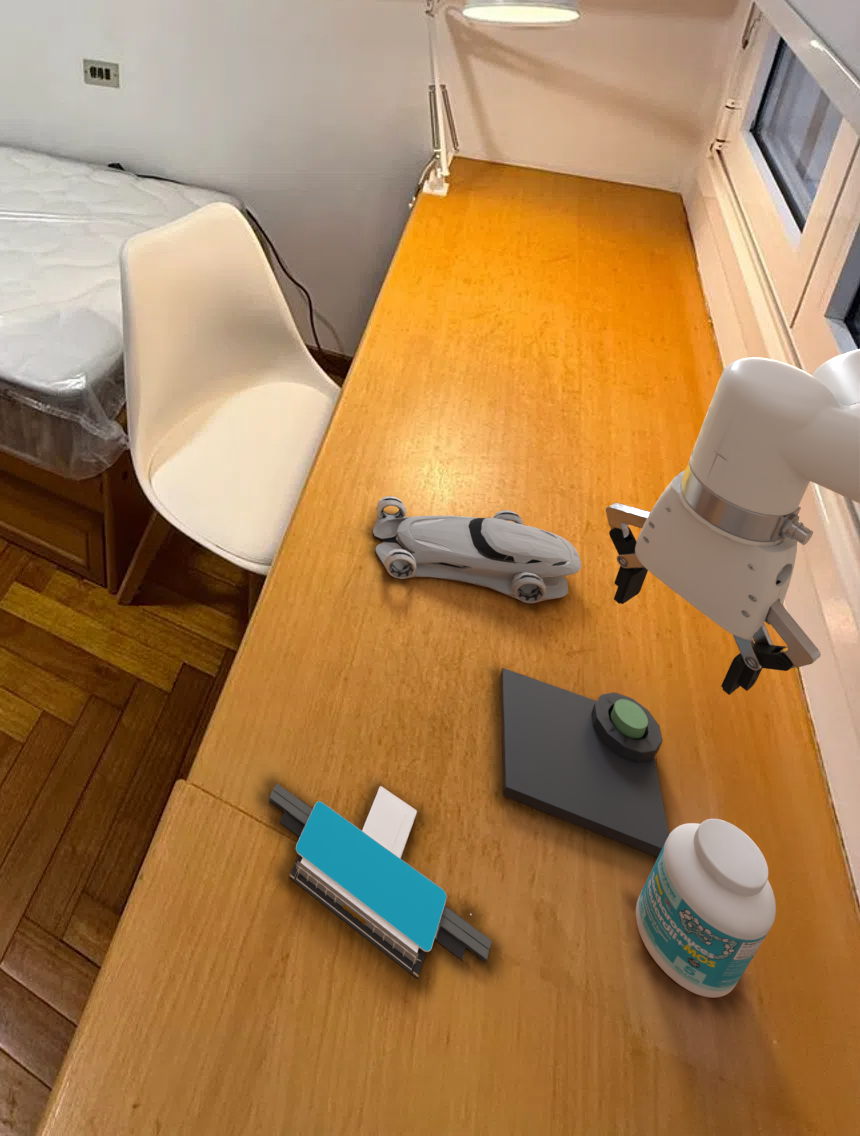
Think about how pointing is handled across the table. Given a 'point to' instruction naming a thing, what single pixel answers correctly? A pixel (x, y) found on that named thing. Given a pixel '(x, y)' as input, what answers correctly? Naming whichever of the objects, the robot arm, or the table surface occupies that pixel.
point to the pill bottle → (706, 906)
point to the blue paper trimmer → (374, 879)
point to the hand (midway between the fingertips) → (677, 638)
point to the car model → (476, 551)
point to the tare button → (629, 718)
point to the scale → (581, 762)
